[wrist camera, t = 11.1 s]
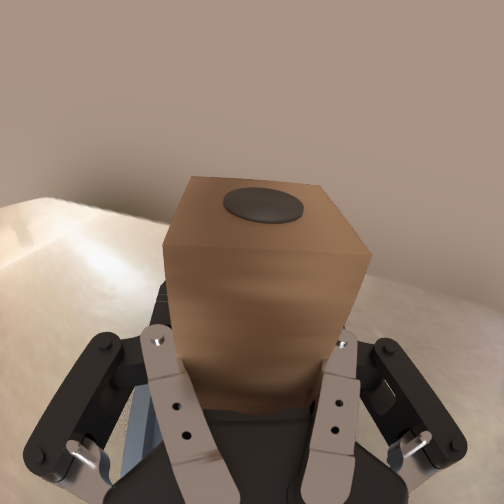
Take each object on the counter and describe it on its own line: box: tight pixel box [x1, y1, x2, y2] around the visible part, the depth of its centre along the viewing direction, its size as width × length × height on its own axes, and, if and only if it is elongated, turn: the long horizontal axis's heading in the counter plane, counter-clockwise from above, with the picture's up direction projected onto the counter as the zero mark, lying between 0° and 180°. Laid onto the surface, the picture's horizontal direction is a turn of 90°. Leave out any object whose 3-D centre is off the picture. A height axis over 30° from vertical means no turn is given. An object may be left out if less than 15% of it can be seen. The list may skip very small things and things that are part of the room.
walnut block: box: [162, 176, 372, 416], centre depth 12 cm, size 5×5×12 cm
